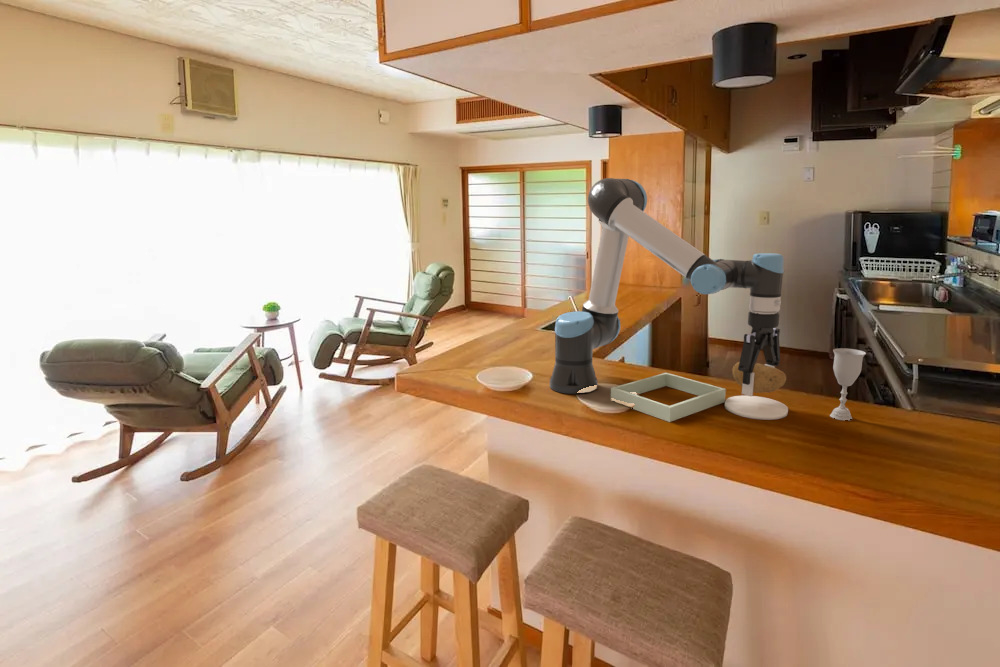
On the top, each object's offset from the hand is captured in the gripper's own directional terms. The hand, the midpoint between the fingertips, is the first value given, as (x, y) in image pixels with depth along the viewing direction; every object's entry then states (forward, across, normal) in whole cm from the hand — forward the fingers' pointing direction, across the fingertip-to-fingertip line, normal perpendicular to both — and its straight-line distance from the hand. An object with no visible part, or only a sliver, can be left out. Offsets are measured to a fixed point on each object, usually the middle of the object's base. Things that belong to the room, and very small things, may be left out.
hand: (757, 391), depth 152 cm
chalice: (+6, +12, -17) cm, 21 cm away
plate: (+5, 0, 0) cm, 5 cm away
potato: (0, 0, 0) cm, 0 cm away
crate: (+5, -14, +19) cm, 24 cm away
